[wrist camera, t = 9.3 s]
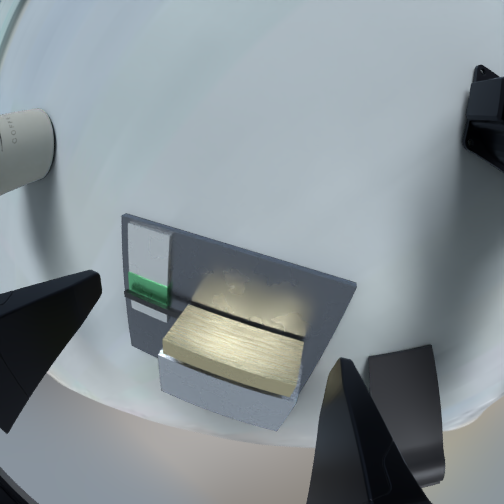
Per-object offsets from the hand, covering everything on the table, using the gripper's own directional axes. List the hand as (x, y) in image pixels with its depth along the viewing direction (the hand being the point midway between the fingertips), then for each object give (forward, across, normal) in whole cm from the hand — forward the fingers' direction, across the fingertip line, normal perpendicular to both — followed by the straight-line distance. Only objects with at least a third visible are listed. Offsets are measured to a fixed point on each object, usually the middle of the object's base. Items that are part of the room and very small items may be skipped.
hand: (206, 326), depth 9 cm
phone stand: (+11, -16, +12) cm, 23 cm away
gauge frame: (+11, +2, +11) cm, 16 cm away
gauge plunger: (+10, +3, +13) cm, 17 cm away
